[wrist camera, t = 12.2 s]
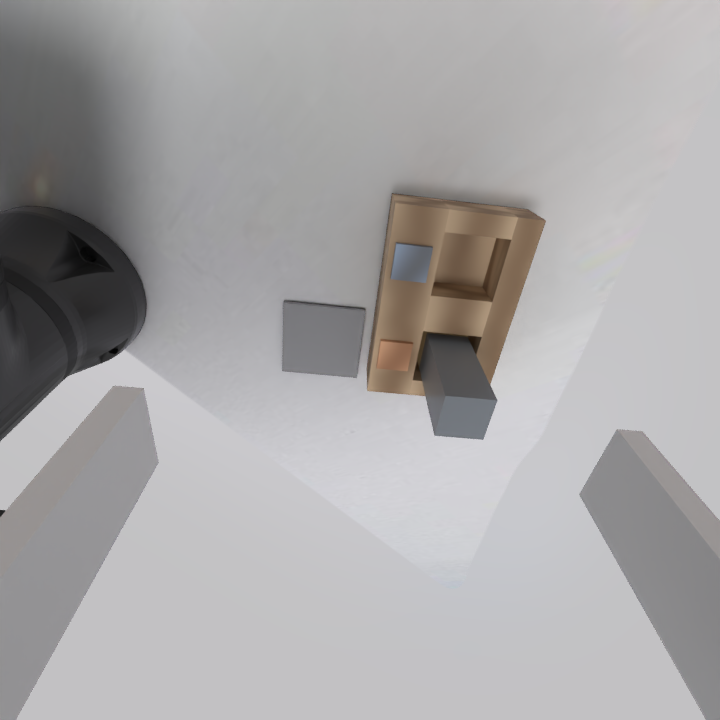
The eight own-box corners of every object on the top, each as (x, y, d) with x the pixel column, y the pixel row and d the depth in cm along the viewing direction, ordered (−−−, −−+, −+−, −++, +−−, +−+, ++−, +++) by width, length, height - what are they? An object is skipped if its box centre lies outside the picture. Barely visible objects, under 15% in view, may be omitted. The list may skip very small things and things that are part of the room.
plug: (416, 357, 43) (434, 435, 33) (423, 323, 41) (445, 395, 31) (454, 360, 44) (483, 439, 33) (463, 327, 42) (497, 400, 31)
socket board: (366, 368, 45) (367, 393, 41) (391, 193, 35) (396, 204, 32) (475, 379, 46) (485, 403, 42) (528, 209, 36) (547, 222, 32)
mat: (282, 369, 45) (282, 371, 44) (284, 301, 41) (283, 302, 40) (356, 375, 45) (356, 377, 45) (365, 309, 41) (365, 310, 41)
